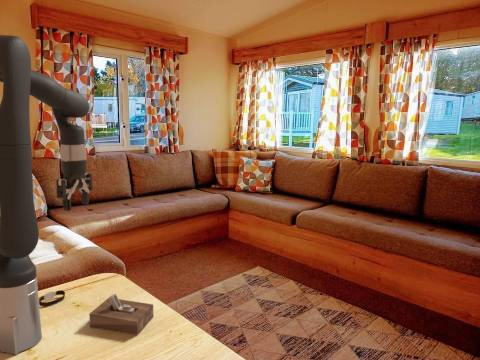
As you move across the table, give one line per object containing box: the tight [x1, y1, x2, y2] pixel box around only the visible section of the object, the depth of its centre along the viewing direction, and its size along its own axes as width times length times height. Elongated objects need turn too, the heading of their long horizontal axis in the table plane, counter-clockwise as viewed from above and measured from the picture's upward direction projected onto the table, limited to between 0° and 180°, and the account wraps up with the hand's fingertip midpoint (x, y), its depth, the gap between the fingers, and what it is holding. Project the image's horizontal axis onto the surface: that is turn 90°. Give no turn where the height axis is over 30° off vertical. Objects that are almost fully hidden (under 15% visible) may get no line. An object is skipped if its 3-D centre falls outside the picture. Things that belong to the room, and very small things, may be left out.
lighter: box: [108, 293, 135, 314], centre depth 101 cm, size 7×2×8 cm, turn 77°
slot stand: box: [89, 297, 155, 336], centre depth 101 cm, size 9×15×4 cm, turn 76°
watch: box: [38, 290, 66, 308], centre depth 111 cm, size 8×5×4 cm, turn 142°
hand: (76, 207), depth 116 cm, fingers open, 8 cm apart
